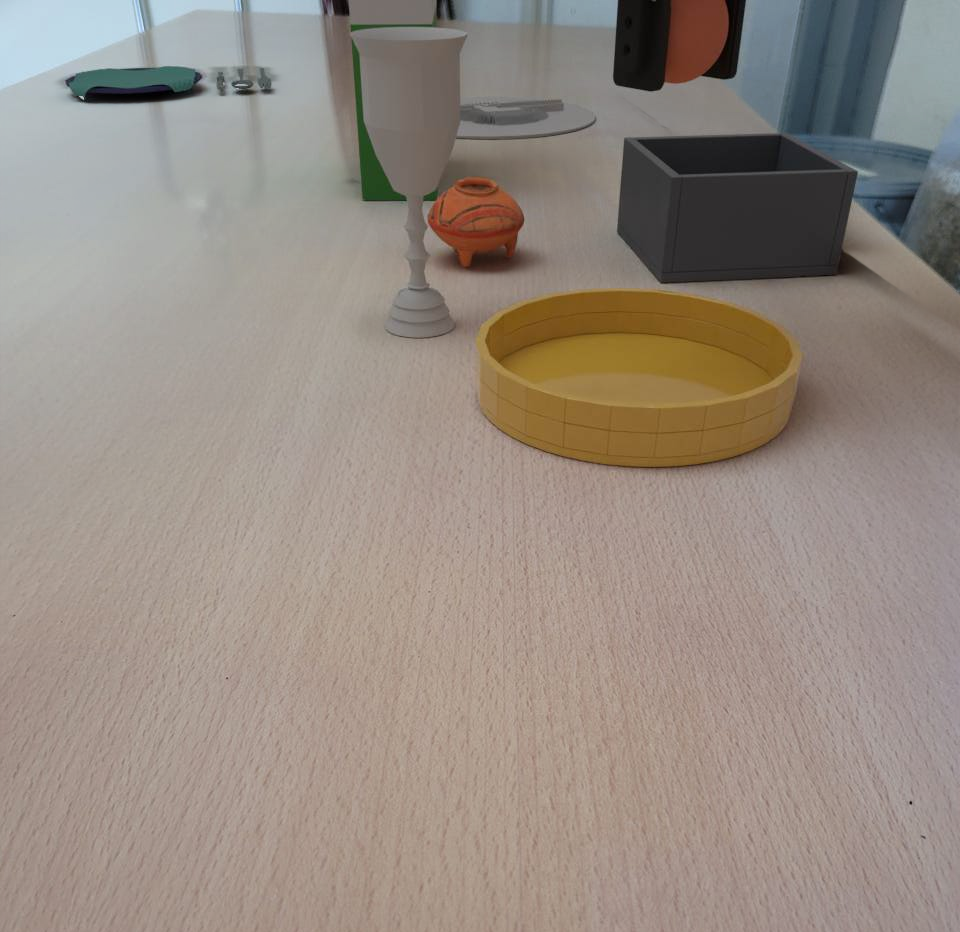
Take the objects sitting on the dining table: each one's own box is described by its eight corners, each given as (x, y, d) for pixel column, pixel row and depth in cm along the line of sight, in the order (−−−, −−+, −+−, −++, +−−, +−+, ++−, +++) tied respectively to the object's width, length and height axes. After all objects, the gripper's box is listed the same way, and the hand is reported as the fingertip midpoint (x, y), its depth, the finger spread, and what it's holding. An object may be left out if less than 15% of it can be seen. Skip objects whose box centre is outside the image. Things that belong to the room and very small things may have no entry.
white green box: (375, 160, 114) (359, -102, 99) (440, 160, 114) (433, -103, 99) (362, 200, 100) (341, -99, 85) (436, 199, 100) (428, -100, 85)
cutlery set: (75, 84, 157) (71, 67, 155) (268, 77, 162) (266, 61, 160) (60, 106, 141) (55, 87, 140) (274, 98, 146) (272, 80, 145)
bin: (771, 225, 92) (786, 132, 87) (836, 275, 81) (858, 171, 76) (616, 232, 91) (624, 137, 86) (660, 283, 79) (671, 177, 74)
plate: (549, 94, 148) (549, 85, 147) (630, 130, 127) (631, 119, 126) (365, 106, 141) (364, 96, 140) (418, 145, 120) (417, 134, 119)
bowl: (729, 332, 70) (737, 282, 68) (843, 455, 55) (858, 396, 53) (459, 345, 68) (459, 294, 66) (501, 478, 53) (502, 417, 51)
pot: (509, 236, 88) (517, 159, 83) (527, 285, 83) (536, 207, 78) (419, 238, 87) (422, 160, 82) (432, 287, 82) (435, 208, 77)
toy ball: (704, 74, 56) (716, -33, 53) (735, 89, 52) (749, -26, 49) (617, 77, 56) (624, -31, 53) (642, 92, 52) (651, -23, 49)
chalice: (352, 334, 70) (329, 37, 59) (392, 304, 75) (377, 25, 64) (449, 347, 68) (443, 42, 57) (483, 315, 73) (484, 29, 62)
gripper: (644, -447, 36) (609, 111, 47) (913, -390, 45) (829, 73, 56) (512, -408, 41) (508, 91, 52) (777, -364, 49) (725, 59, 60)
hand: (675, 77), depth 54 cm, fingers closed on toy ball, 4 cm apart
